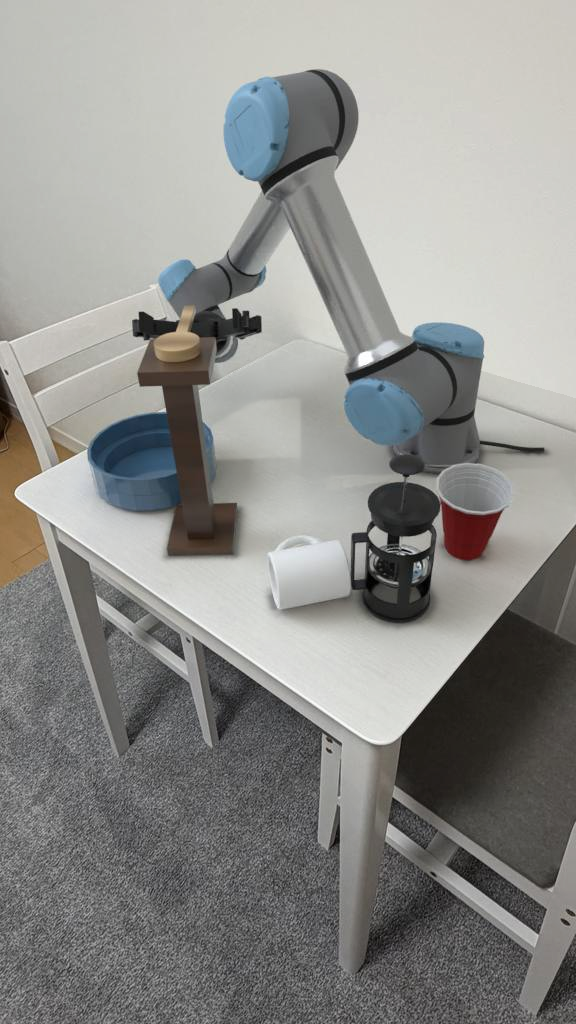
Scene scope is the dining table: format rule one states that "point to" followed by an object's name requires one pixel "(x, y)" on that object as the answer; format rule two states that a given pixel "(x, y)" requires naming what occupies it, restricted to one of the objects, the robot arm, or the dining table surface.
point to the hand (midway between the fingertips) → (188, 319)
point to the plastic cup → (471, 506)
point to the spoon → (179, 340)
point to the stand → (191, 454)
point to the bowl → (139, 463)
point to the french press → (398, 544)
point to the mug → (308, 572)
